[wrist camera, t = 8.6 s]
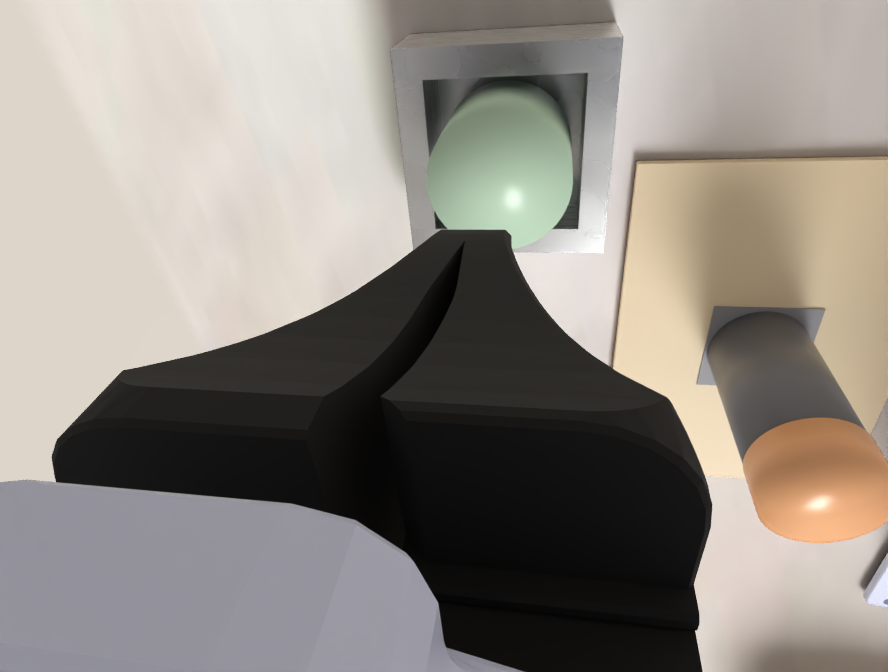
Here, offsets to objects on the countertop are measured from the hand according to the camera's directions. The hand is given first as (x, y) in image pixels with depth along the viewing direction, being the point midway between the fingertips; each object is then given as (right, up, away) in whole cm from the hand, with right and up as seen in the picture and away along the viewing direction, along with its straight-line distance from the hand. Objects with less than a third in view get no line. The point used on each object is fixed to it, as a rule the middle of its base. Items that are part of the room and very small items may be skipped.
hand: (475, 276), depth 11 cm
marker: (+11, -2, +10) cm, 15 cm away
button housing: (+2, +5, +8) cm, 9 cm away
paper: (+11, -1, +11) cm, 15 cm away
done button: (+1, +5, +6) cm, 8 cm away
